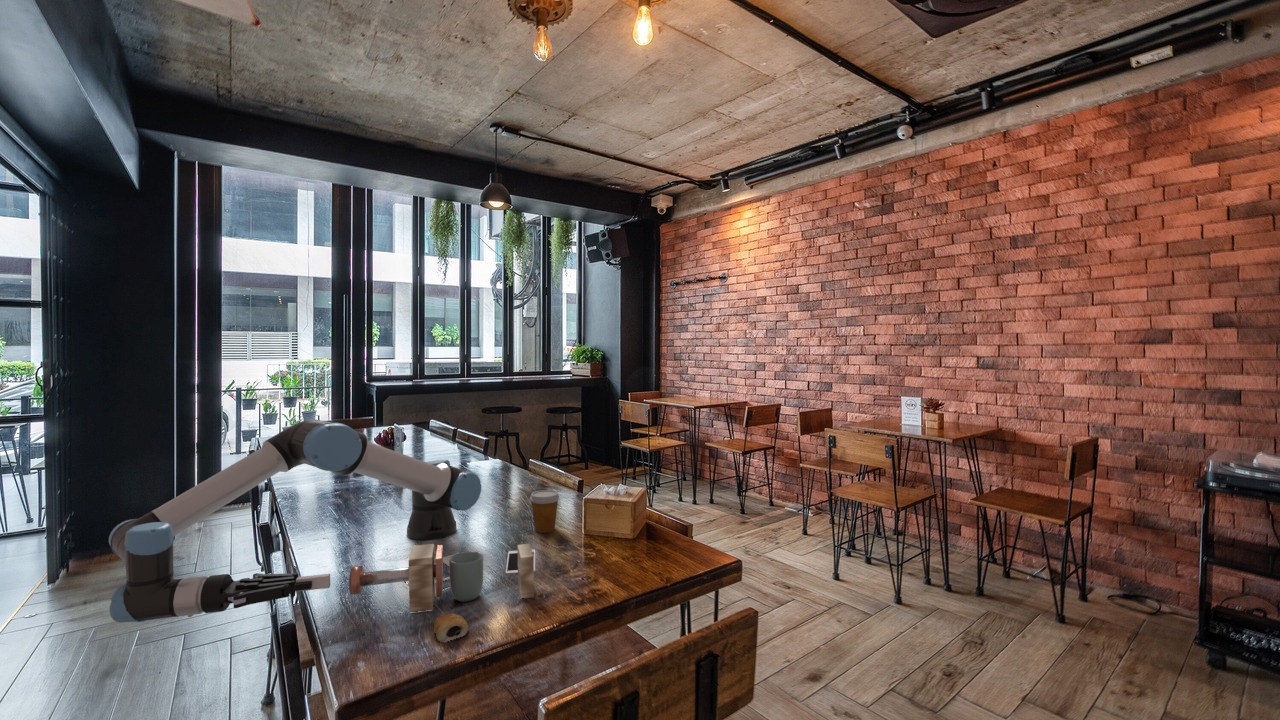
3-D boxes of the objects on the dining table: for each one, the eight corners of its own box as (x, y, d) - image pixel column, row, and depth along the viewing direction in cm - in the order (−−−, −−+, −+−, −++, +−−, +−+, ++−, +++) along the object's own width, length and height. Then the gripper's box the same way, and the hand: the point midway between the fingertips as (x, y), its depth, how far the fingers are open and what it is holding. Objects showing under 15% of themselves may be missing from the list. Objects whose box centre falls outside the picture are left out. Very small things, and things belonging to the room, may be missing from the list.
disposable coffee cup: (562, 525, 191) (562, 490, 190) (555, 535, 181) (555, 497, 181) (534, 524, 192) (534, 489, 191) (526, 534, 182) (526, 497, 182)
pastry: (428, 626, 124) (428, 609, 124) (459, 618, 127) (459, 601, 127) (438, 646, 116) (438, 627, 116) (471, 637, 120) (471, 619, 119)
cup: (452, 608, 132) (452, 565, 131) (447, 595, 139) (446, 554, 138) (486, 601, 135) (486, 559, 135) (479, 588, 142) (479, 549, 142)
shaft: (348, 609, 125) (347, 568, 125) (355, 591, 134) (354, 554, 134) (441, 596, 131) (441, 558, 131) (443, 581, 140) (442, 544, 139)
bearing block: (409, 614, 129) (408, 559, 129) (413, 596, 138) (412, 545, 137) (432, 610, 130) (432, 557, 130) (434, 593, 139) (434, 543, 139)
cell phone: (535, 551, 168) (535, 549, 168) (535, 573, 153) (535, 570, 153) (508, 553, 167) (508, 551, 167) (505, 575, 151) (505, 573, 151)
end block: (521, 598, 136) (520, 557, 136) (518, 583, 145) (517, 544, 145) (534, 597, 137) (533, 556, 137) (529, 582, 146) (529, 543, 146)
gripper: (219, 598, 127) (336, 585, 134) (192, 626, 115) (323, 610, 122) (218, 565, 127) (335, 554, 134) (191, 589, 115) (322, 575, 122)
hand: (329, 580), depth 128 cm, fingers closed
